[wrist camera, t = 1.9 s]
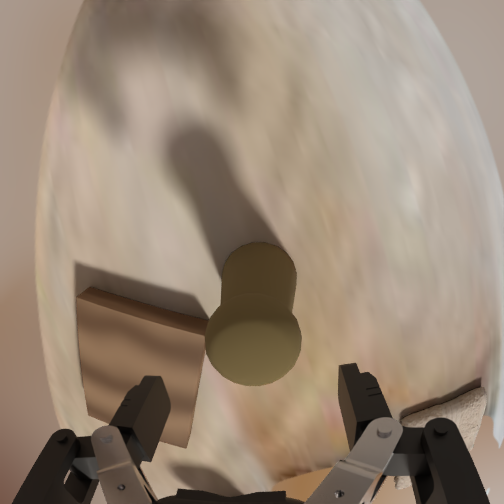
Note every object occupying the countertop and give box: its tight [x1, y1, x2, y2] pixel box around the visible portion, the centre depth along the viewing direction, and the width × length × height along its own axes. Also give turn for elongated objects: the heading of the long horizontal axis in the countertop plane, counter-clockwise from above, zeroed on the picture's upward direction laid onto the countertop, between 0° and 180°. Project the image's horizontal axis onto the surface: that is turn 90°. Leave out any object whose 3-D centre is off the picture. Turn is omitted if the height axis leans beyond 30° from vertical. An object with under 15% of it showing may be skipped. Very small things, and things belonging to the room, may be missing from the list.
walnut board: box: [76, 287, 209, 448], centre depth 28 cm, size 16×12×2 cm
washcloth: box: [394, 387, 487, 489], centre depth 30 cm, size 12×18×3 cm, turn 15°
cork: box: [204, 242, 302, 386], centre depth 20 cm, size 6×6×11 cm
